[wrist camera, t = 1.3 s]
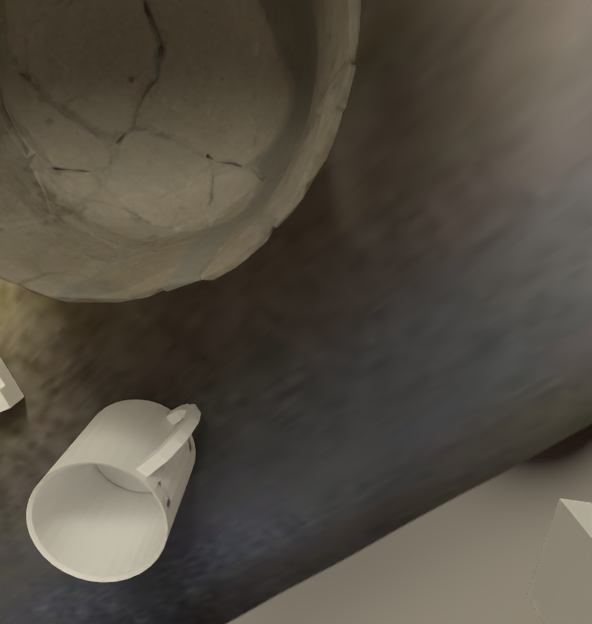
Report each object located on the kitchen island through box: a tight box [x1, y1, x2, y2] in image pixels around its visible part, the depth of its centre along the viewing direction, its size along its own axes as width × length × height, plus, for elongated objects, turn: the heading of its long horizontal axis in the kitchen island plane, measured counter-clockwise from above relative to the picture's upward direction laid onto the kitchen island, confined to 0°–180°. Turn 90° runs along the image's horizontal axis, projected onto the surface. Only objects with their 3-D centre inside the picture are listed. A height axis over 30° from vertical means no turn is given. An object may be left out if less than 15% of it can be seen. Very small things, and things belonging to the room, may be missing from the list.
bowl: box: [0, 0, 362, 303], centre depth 26 cm, size 22×22×15 cm
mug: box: [26, 399, 201, 582], centre depth 36 cm, size 12×9×9 cm
